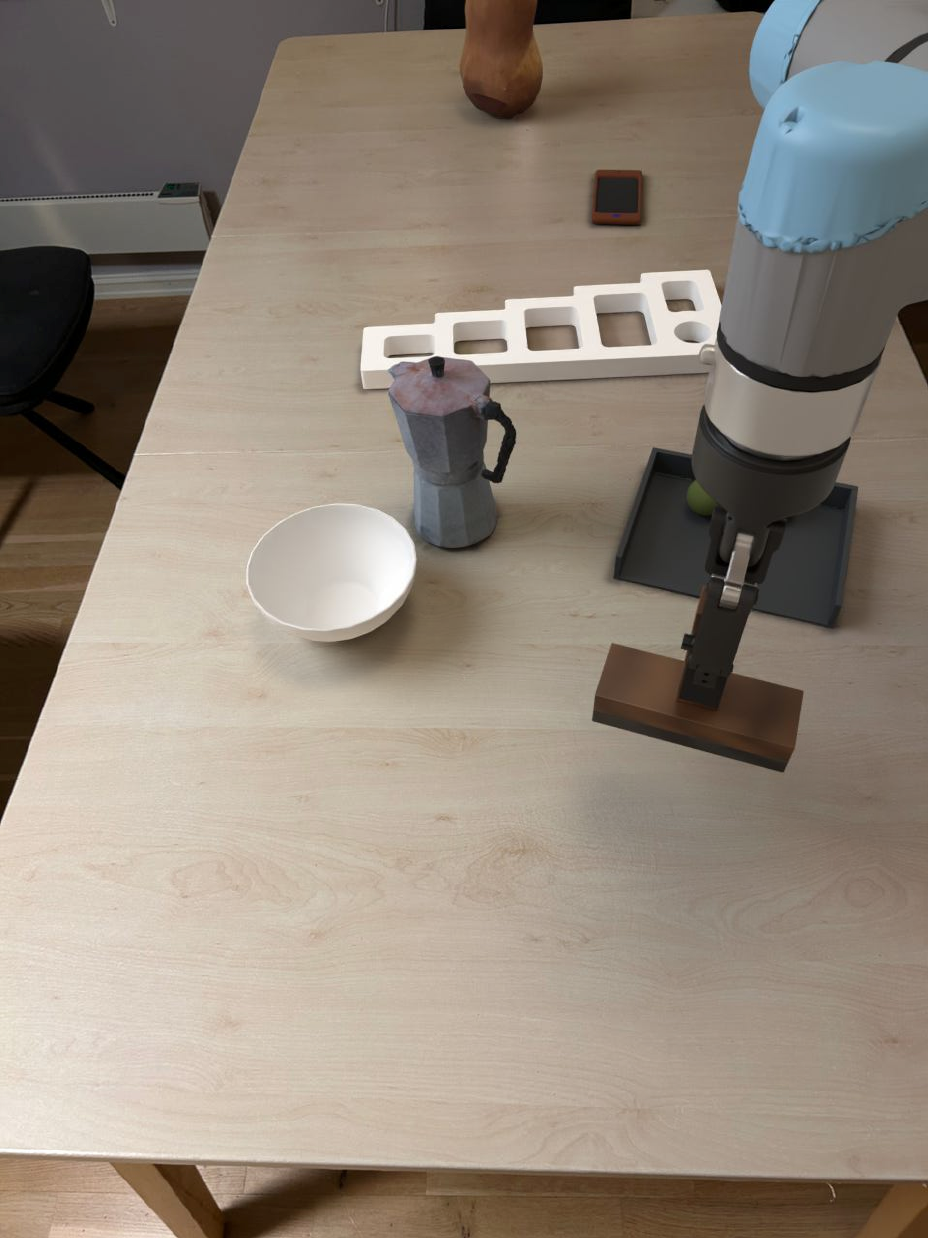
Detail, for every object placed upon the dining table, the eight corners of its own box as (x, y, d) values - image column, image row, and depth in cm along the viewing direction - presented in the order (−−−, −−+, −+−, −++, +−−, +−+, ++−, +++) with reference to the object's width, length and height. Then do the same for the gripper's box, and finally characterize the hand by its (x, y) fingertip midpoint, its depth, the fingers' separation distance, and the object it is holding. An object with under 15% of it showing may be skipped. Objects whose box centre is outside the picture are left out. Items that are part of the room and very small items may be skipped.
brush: (792, 717, 69) (843, 600, 59) (783, 773, 66) (834, 661, 56) (608, 669, 72) (623, 551, 62) (591, 721, 70) (605, 606, 59)
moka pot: (428, 469, 105) (412, 312, 89) (545, 522, 99) (550, 364, 83) (375, 520, 100) (348, 364, 84) (494, 579, 94) (489, 423, 78)
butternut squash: (548, 97, 162) (552, -76, 143) (534, 132, 154) (536, -46, 135) (470, 93, 165) (464, -77, 145) (453, 127, 157) (444, -48, 137)
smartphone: (591, 218, 134) (595, 168, 144) (591, 224, 135) (595, 174, 144) (641, 219, 134) (642, 168, 143) (640, 225, 134) (641, 174, 144)
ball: (727, 503, 99) (731, 472, 96) (720, 526, 96) (724, 494, 93) (689, 497, 100) (692, 466, 97) (681, 519, 97) (684, 488, 95)
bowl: (441, 651, 89) (436, 604, 83) (275, 695, 86) (259, 650, 81) (400, 535, 98) (393, 487, 93) (250, 572, 96) (234, 524, 91)
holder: (362, 389, 114) (360, 370, 112) (369, 305, 125) (366, 287, 123) (733, 371, 113) (737, 352, 111) (706, 288, 124) (709, 269, 122)
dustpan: (832, 628, 88) (842, 606, 86) (613, 578, 93) (615, 556, 91) (858, 446, 104) (867, 423, 101) (668, 412, 109) (672, 389, 106)
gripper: (728, 318, 52) (672, 589, 71) (671, 503, 44) (624, 758, 62) (867, 340, 51) (773, 612, 69) (837, 538, 42) (739, 790, 60)
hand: (703, 681), depth 65 cm, fingers closed on brush, 2 cm apart
